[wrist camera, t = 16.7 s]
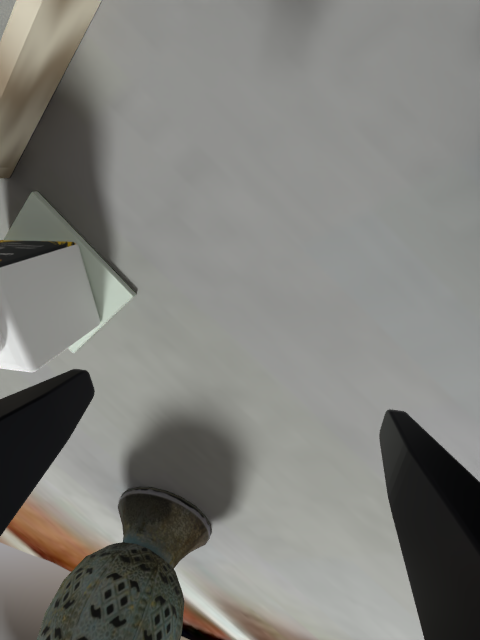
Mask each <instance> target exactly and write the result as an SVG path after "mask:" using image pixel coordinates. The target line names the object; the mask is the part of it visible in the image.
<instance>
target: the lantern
mask: <svg viewBox="0 0 480 640" xmlns="http://www.w3.org/2000/svg"><path fill="white" fill-rule="evenodd" d="M118 509H119V514H120V517H121V521H122V525H123V535H124V537H123V542H122V543H116V544H112V545H109V546H107V547H105V548H103V549H101V550H99V551H97V552H95V553H93V554H91V555H88V556H86V557H85V558H84V559H83V560H82V561H81V562H80V563H79V565H78V566H77V567H76V568H75V569H74V570H73V571H72V572H71V573H70V574H69V575H68V576H67V577H66V579H64V581H63V582H62V584H61V586H60V588H59V590H58V592H57V593H56V595H55V597H54V599H53V600H52V602H51V604H50V606H49V608H48V609H47V611H46V613H45V616H44V619H43V622H42V625H41V628H40V632H39V635H38V638H37V640H180V638H181V634H182V623H183V611H184V598H183V593H182V590H181V587H180V584H179V581H178V578H177V575H176V572H175V570H174V568H175V566H176V565H177V564H178V562H179V561H180V560H181V559H182V558H184V557H185V556H186V555H187V554H188V553H190V552H192V551H193V550H195V549H197V548H199V547H201V546H203V545H205V544H206V543H207V541H208V540H209V538H210V535H211V527H210V524H209V522H208V520H207V518H206V517H205V515H204V514H203V513H202V512H201V511H200V510H199V509H198V508H197V507H196V506H194V505H193V504H191V503H190V502H188V501H186V500H185V499H183V498H182V497H179V496H177V495H175V494H172V493H170V492H168V491H164V490H159V489H155V488H143V487H138V488H134V489H130V490H128V491H126V492H125V493H124V494H123V495H122V496H121V498H120V500H119V504H118Z"/></svg>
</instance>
